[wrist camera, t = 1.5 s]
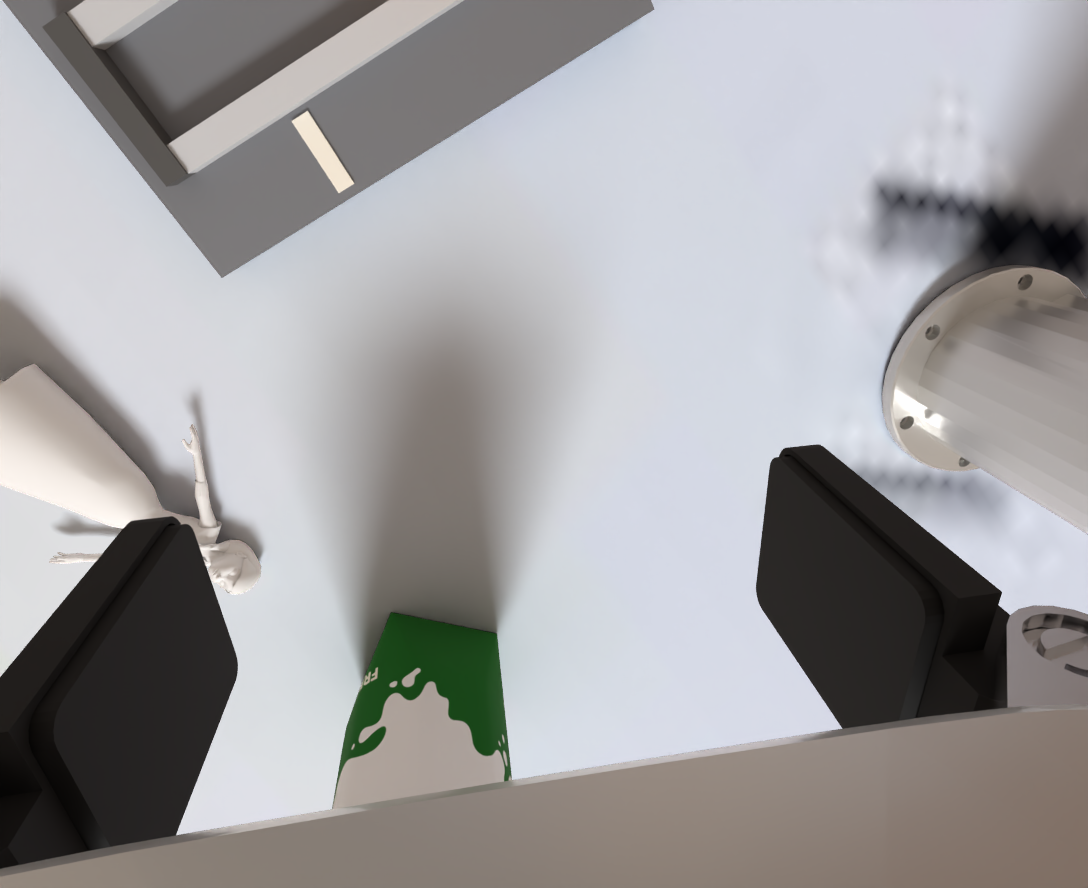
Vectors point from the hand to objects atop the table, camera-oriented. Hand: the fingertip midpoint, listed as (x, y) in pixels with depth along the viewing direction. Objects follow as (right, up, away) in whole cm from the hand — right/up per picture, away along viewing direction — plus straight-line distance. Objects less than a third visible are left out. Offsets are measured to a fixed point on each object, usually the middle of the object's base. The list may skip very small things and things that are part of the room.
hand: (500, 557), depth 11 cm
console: (-8, +21, +16) cm, 28 cm away
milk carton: (-7, -13, +32) cm, 35 cm away
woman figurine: (-22, 0, +24) cm, 33 cm away
